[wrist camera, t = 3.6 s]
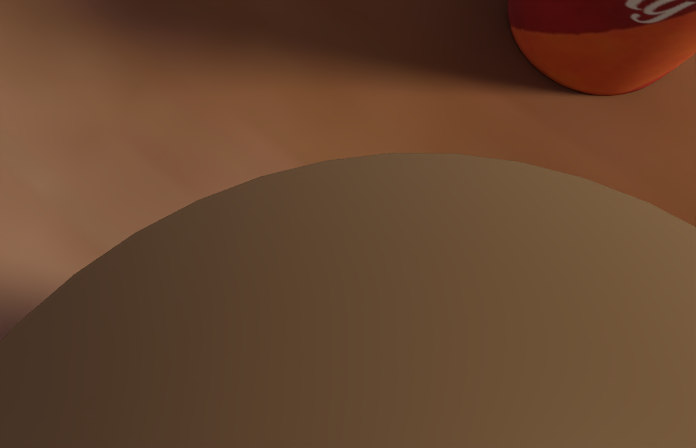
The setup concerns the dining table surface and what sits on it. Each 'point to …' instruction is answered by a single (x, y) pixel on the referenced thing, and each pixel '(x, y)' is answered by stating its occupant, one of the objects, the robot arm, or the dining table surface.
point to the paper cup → (604, 40)
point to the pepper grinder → (372, 318)
